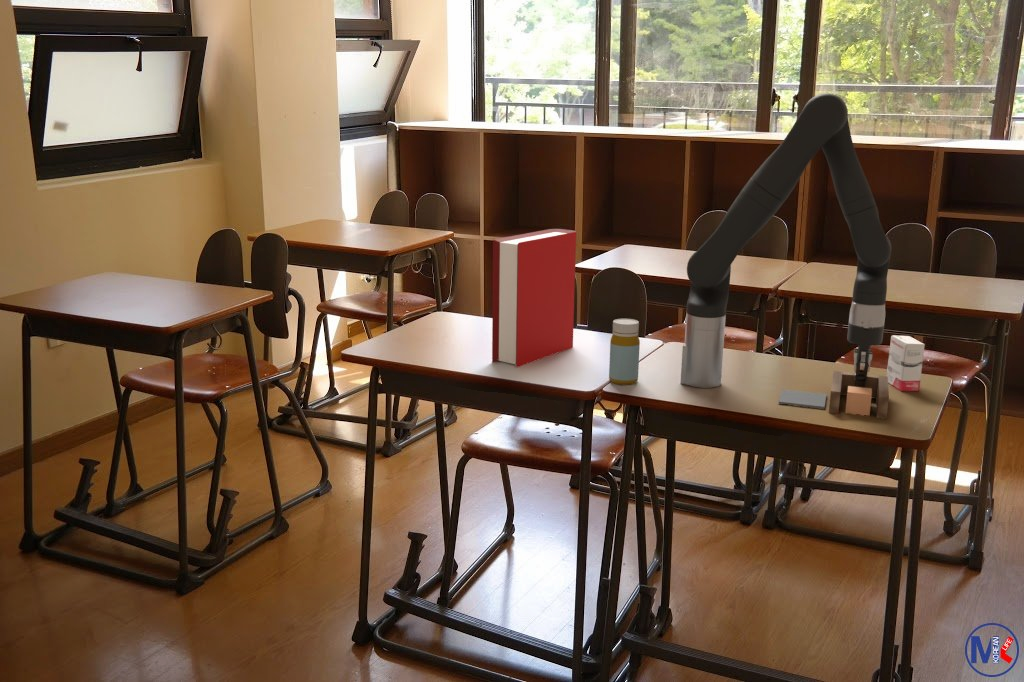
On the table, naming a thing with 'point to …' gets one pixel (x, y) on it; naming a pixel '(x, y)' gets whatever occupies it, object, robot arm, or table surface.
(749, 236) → the robot arm
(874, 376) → the cubby
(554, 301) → the book
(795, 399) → the pad
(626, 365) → the bottle
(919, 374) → the ink box
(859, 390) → the cube
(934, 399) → the table surface
